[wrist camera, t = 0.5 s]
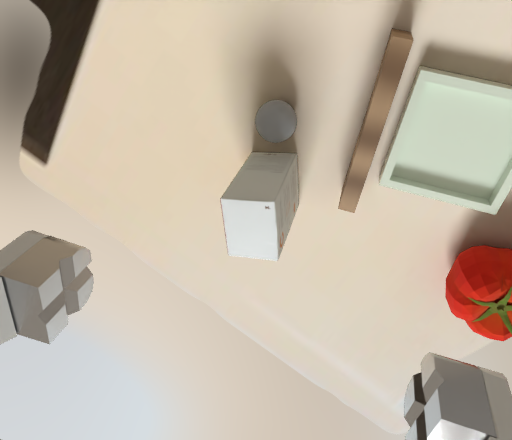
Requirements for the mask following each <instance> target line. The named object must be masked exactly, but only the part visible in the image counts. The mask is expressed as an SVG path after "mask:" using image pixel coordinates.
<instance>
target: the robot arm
mask: <svg viewBox="0 0 512 440" xmlns="http://www.w3.org/2000/svg"><path fill="white" fill-rule="evenodd" d="M90 262H91V254H90V250H88V249H87V248H85V247H82V246H79V245H76V244H73V243H70V242H67V241H64V240H61V239H58V238H55V237H52V236H48V235H45V234H42V233H39V232H36V231H33V230H32V231H27V232H25V233H23V234H22V235H21V236H19V237H18V238H16V239H15V240H14V241H12V242H11V243H10V244H8V245H7V246H6V247H4V248H3V249H2V250H0V344H2V343H4V342H6V341H8V340H10V339H12V338H14V337H16V336H17V334H19V335H22V336H25V337H28V338H32V339H35V340H38V341H41V342H44V343H47V344H50V343H51V342H52V341H53V340H54V339H55V338H56V337H57V336H58V334H59V333H60V332H61V331H62V330H63V329H64V328H65V327H66V325H67V324H68V315H70V314H72V313H75V312H77V311H79V310H80V309H81V308H82V307H83V306H84V305H85V304H86V302H87V300H88V299H89V296H90V294H91V292H92V289H93V283H94V282H93V274H92V273H91V271H90V270H89V269H88V267H87V265H88V264H89V263H90ZM404 418H405V419H406V421H407V422H408V424H409V426H410V427H411V428H410V430H409V431H408V433H407V434H406V436H405V440H512V395H511V391H510V388H509V385H508V381H507V378H506V377H505V376H504V375H503V374H502V373H498V372H495V371H492V370H488V369H485V368H481V367H476V366H474V365H471V364H468V363H464V362H461V361H458V360H454V359H451V358H447V357H444V356H441V355H437V354H434V353H430V352H429V353H428V354H427V355H425V357H424V358H423V360H422V362H421V373H418V374H416V375H413V377H412V379H411V381H410V383H409V384H408V387H407V391H406V395H405V402H404ZM0 440H1V439H0Z"/></svg>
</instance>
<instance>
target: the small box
mask: <svg viewBox="0 0 512 440" xmlns="http://www.w3.org/2000/svg"><path fill="white" fill-rule="evenodd" d="M220 201H221V208H222V215H223V222H224V229H225V236H226V243H227V250H228V255H229V256H237V257H247V258H256V259H265V260H273V261H278V259H279V257H280V254H281V251H282V249H283V246H284V243H285V241H286V238H287V235H288V233H289V230H290V227H291V224H292V221H293V219H294V216H295V214H296V211H297V208H298V206H299V196H298V162H297V154H296V153H266V152H252V153H251V154H250V156H249V157H248V159H247V160H246V161H245V163H244V164H243V166H242V167H241V169H240V170H239V172H238V173H237V175H236V176H235V178H234V179H233V181H232V182H231V184H230V185H229V187H228V188H227V190H226V191H225V193H224V194H223V195H222V197H221V198H220Z"/></svg>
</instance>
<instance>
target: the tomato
mask: <svg viewBox="0 0 512 440" xmlns="http://www.w3.org/2000/svg"><path fill="white" fill-rule="evenodd" d="M446 299H447V302H448V305H449V307H450V310H451V312H452V313H453V314H454V315H455V316H456V317H458V318H461V319H464V320H465V321H466V322H467V324H468V326H469V327H470V328H471V329H472V330H473V331H474V332H476V333H478V334H480V335H482V336H484V337H487V338H490V339H494V340H500V341H504V340H507V339H508V338H510V337H512V249H508V248H494V247H490V246H486V245H482V246H474V247H471V248H469V249H467V250H465V251H463V252H461V253H460V254H459V255H458V257H457V259H456V260H455V262H454V264H453V266H452V268H451V270H450V272H449V274H448V276H447V278H446Z"/></svg>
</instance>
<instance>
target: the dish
mask: <svg viewBox="0 0 512 440" xmlns="http://www.w3.org/2000/svg"><path fill="white" fill-rule="evenodd" d="M379 185H381V186H384V187H388V188H392V189H396V190H400V191H404V192H408V193H412V194H416V195H420V196H423V197H427V198H431V199H435V200H439V201H443V202H447V203H451V204H455V205H459V206H462V207H466V208H470V209H474V210H478V211H482V212H486V213H490V214H494V215H496V214H497V212H498V210H499V208H500V207H501V205H502V203H503V201H504V200H505V198H506V196H507V195H508V193H509V191H510V189H511V188H512V85H507V84H503V83H498V82H493V81H489V80H484V79H479V78H475V77H470V76H465V75H461V74H456V73H451V72H447V71H442V70H437V69H433V68H428V67H423V66H419V69H418V72H417V75H416V77H415V80H414V83H413V86H412V88H411V91H410V94H409V97H408V99H407V102H406V105H405V108H404V110H403V113H402V116H401V119H400V121H399V124H398V127H397V130H396V132H395V135H394V138H393V141H392V143H391V146H390V149H389V152H388V154H387V157H386V160H385V163H384V165H383V168H382V171H381V174H380V177H379Z"/></svg>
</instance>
